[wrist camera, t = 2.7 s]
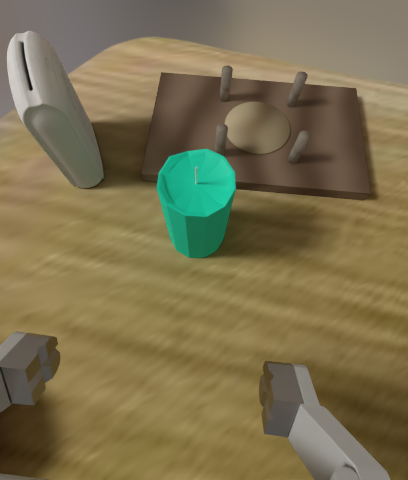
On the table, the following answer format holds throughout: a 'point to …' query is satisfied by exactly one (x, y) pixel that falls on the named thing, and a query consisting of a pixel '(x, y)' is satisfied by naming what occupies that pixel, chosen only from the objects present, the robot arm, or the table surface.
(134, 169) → the table surface
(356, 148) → the candle stand
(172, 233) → the candle
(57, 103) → the photo printer
